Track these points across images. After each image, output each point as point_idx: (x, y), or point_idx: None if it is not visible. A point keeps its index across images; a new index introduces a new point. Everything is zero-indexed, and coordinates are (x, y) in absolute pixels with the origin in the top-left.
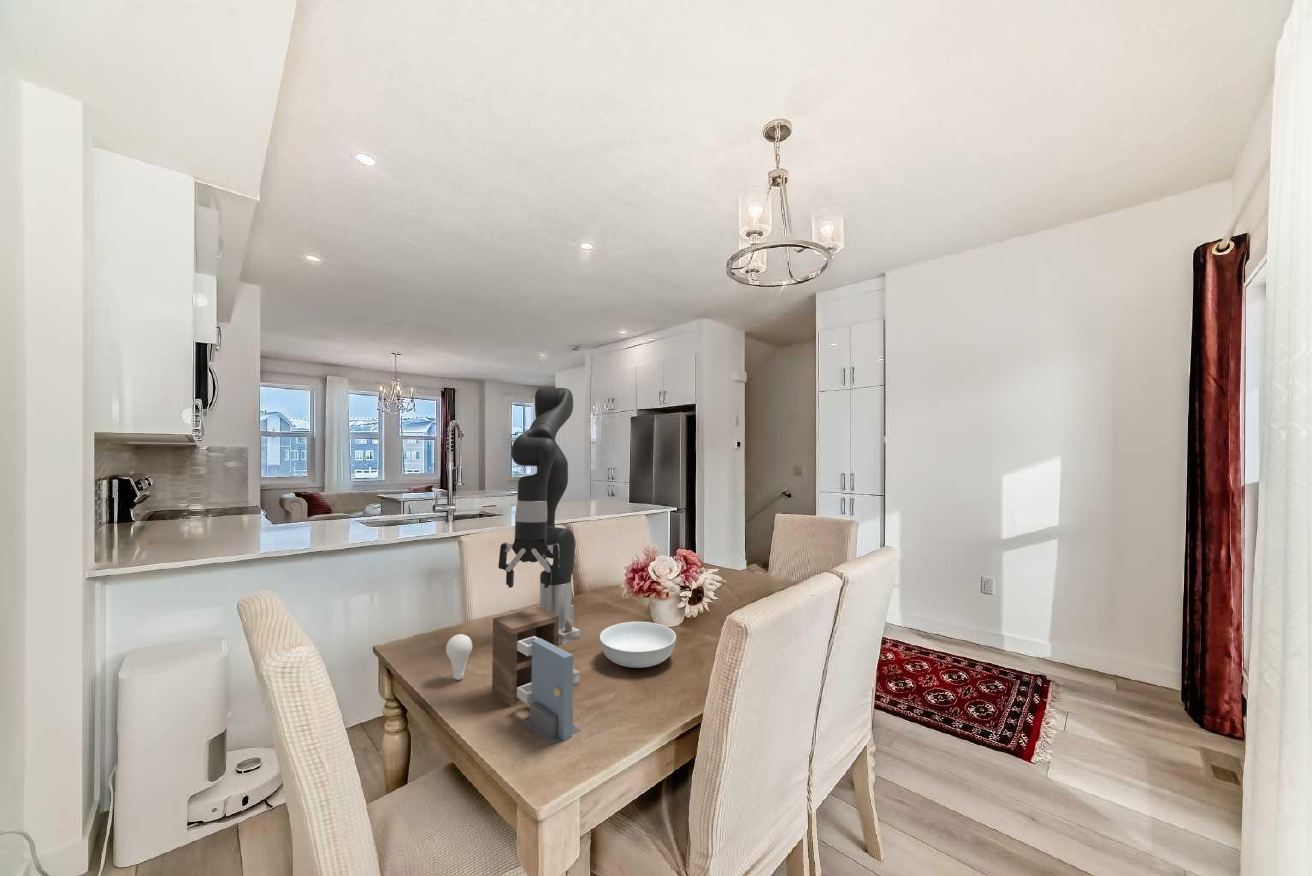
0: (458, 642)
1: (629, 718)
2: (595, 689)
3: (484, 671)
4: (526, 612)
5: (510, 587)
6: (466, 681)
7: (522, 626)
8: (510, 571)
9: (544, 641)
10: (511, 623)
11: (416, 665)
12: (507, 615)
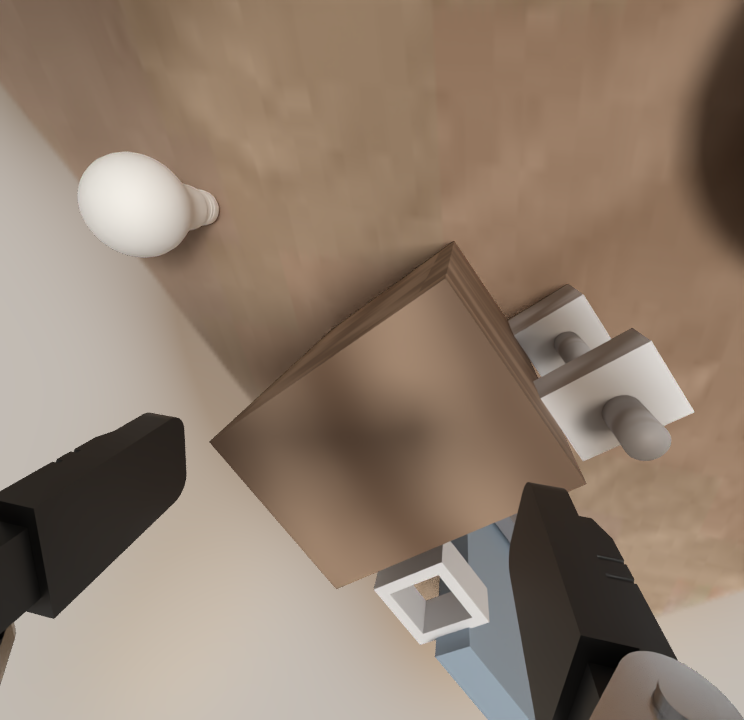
0: (125, 245)
1: (708, 506)
2: (650, 337)
3: (268, 150)
4: (373, 381)
5: (176, 483)
6: (236, 223)
7: (378, 569)
8: (21, 602)
9: (488, 680)
10: (318, 529)
11: (42, 77)
12: (270, 411)
